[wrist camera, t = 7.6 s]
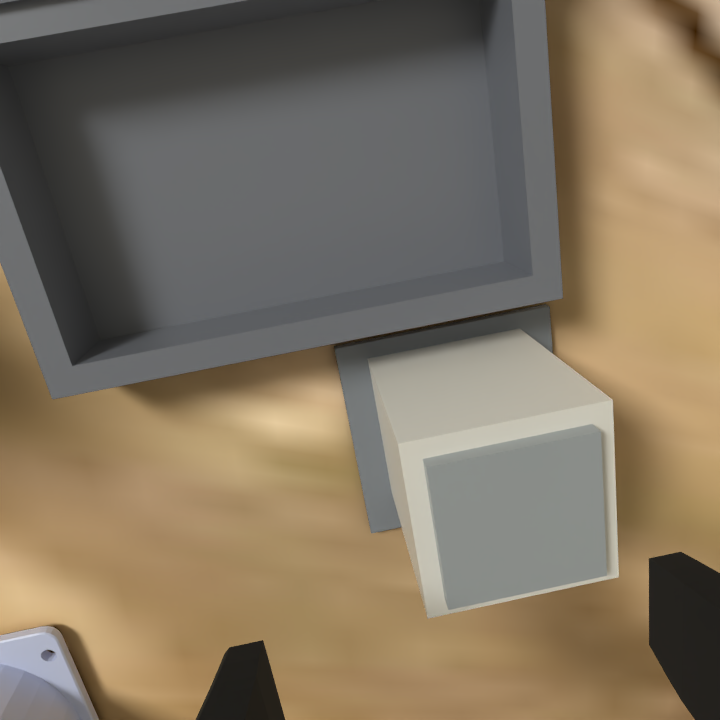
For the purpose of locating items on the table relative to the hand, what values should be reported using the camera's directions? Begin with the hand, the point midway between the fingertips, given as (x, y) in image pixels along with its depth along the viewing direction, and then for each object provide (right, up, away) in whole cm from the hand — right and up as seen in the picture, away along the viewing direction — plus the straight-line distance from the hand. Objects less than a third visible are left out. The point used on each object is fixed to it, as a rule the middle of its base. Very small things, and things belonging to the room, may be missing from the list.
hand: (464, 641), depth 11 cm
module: (+1, +3, +9) cm, 10 cm away
